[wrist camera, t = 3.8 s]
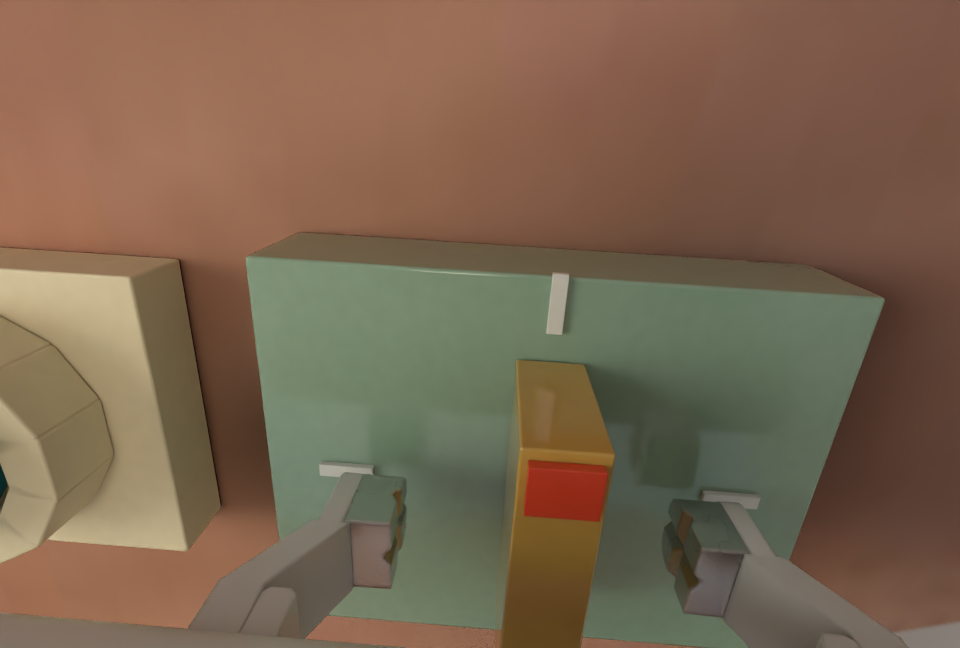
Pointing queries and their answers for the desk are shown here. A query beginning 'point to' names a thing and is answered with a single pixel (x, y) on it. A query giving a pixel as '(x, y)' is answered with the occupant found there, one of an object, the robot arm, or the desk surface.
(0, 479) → the teal push button
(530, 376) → the yellow block red tip
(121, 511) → the cream button base
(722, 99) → the desk surface
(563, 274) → the plate
